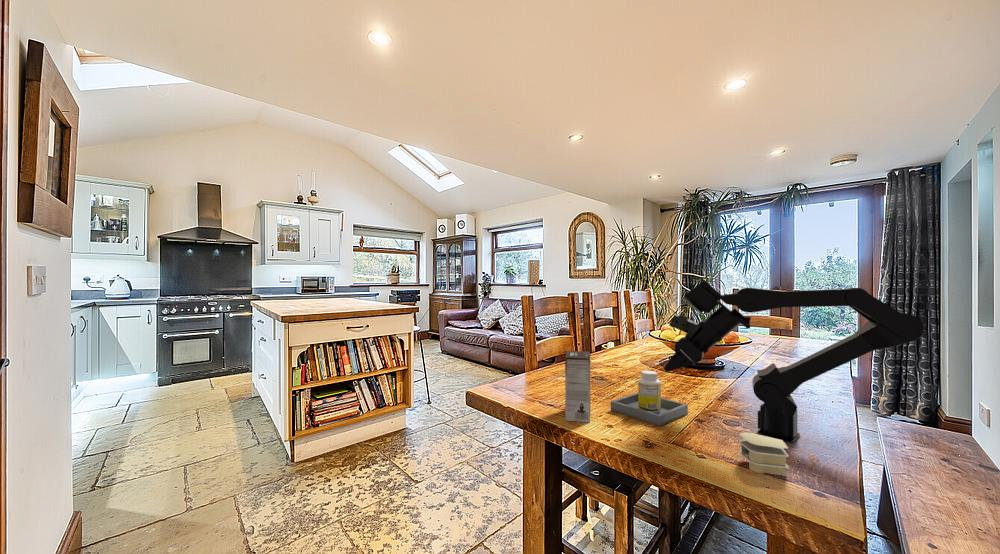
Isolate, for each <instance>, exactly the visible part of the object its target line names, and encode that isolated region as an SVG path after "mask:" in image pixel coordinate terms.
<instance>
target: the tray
mask: <svg viewBox="0 0 1000 554" xmlns="http://www.w3.org/2000/svg"><path fill="white" fill-rule="evenodd" d="M638 393H639V392H638V391H637V392H636V393H632V394H628V395H625V396H623V397H620V398H619V397H618V398H616V399H614V400H611V401H610V411H611V412H614V413H616V414H620V415H623V416H626V417H629V418H632V419H635V420H638V421H641V422H644V423H647V424H651V425H654V426H656V427H659V428H660V427H663V426H665V425H667V424H669V423H672V422H673V421H676V420H678V419H681V418H683V417H684V415H685V416H687V415H688V414H689V411H688V410H689V404H687V403H683V402H678V401H676V400H671V399H668V398H663V397H661V411H660V412H658V413H651V412H648V411H645V410H642V409H639V396H638ZM680 417H681V418H680Z"/></svg>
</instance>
